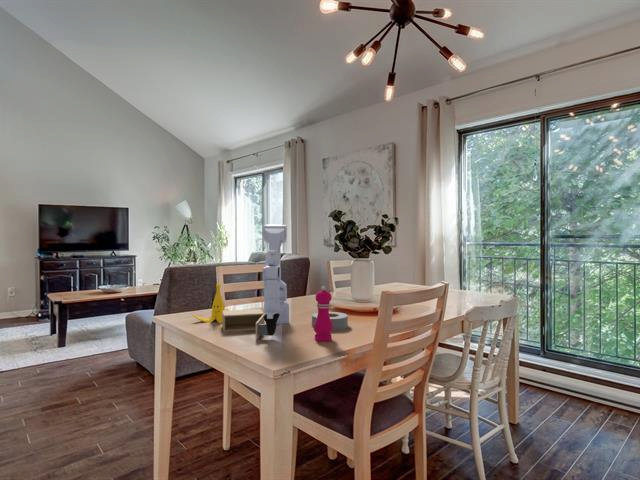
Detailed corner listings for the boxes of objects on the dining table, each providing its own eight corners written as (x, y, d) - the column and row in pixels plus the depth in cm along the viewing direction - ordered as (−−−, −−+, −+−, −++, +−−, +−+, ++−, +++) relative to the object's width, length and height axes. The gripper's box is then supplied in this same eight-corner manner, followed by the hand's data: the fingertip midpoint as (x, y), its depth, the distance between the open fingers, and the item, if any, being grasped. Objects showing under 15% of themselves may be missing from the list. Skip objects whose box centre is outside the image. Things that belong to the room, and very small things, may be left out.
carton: (260, 323, 170) (260, 308, 170) (263, 329, 161) (263, 313, 160) (222, 326, 165) (222, 310, 165) (223, 331, 156) (223, 315, 156)
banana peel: (233, 324, 169) (234, 286, 169) (192, 323, 171) (192, 285, 171) (245, 316, 185) (246, 281, 185) (207, 315, 188) (207, 280, 188)
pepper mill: (316, 342, 142) (316, 287, 141) (311, 337, 149) (311, 285, 148) (335, 341, 144) (335, 287, 143) (329, 336, 151) (329, 284, 150)
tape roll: (323, 321, 177) (323, 310, 177) (353, 325, 170) (353, 313, 169) (304, 328, 164) (305, 316, 164) (336, 333, 156) (337, 320, 156)
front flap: (263, 329, 160) (263, 314, 160) (277, 329, 160) (278, 314, 159) (255, 339, 144) (255, 323, 144) (272, 339, 144) (272, 323, 144)
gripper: (281, 301, 139) (281, 339, 139) (283, 294, 153) (283, 329, 153) (261, 301, 138) (261, 339, 138) (265, 294, 153) (265, 329, 153)
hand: (271, 333), depth 146 cm, fingers closed
